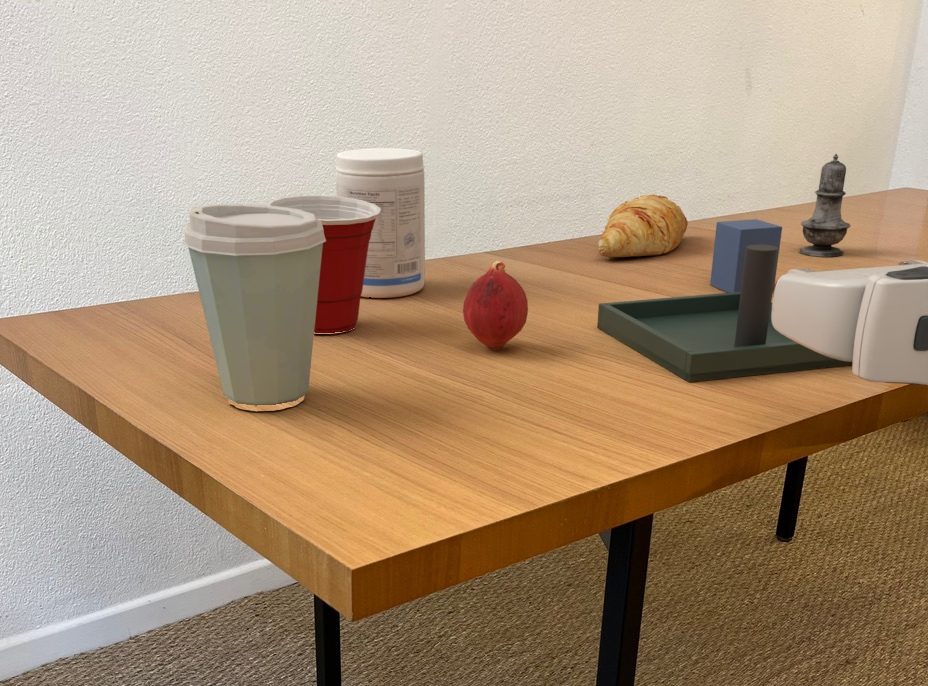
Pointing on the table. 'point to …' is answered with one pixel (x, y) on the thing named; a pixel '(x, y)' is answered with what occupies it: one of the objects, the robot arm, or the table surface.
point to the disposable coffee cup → (258, 296)
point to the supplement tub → (389, 216)
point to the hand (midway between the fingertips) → (850, 275)
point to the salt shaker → (827, 213)
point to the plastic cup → (338, 256)
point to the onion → (495, 307)
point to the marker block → (738, 249)
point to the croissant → (643, 228)
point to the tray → (714, 329)
